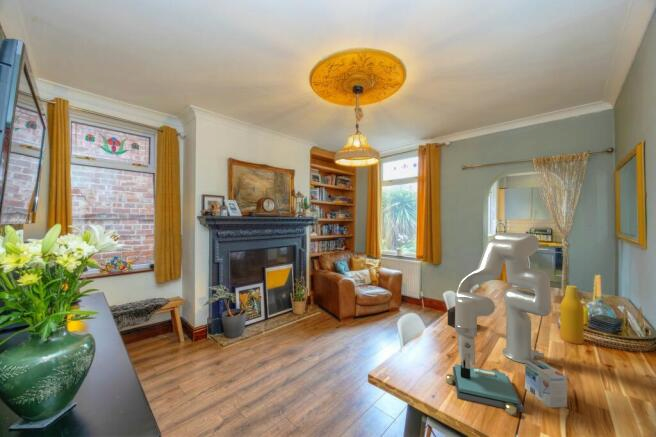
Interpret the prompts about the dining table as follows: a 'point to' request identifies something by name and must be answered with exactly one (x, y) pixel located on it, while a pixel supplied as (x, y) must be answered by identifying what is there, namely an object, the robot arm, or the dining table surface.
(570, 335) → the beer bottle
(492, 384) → the plate
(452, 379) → the base
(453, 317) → the black box
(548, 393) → the light bulb box
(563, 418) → the dining table surface
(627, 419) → the dining table surface
